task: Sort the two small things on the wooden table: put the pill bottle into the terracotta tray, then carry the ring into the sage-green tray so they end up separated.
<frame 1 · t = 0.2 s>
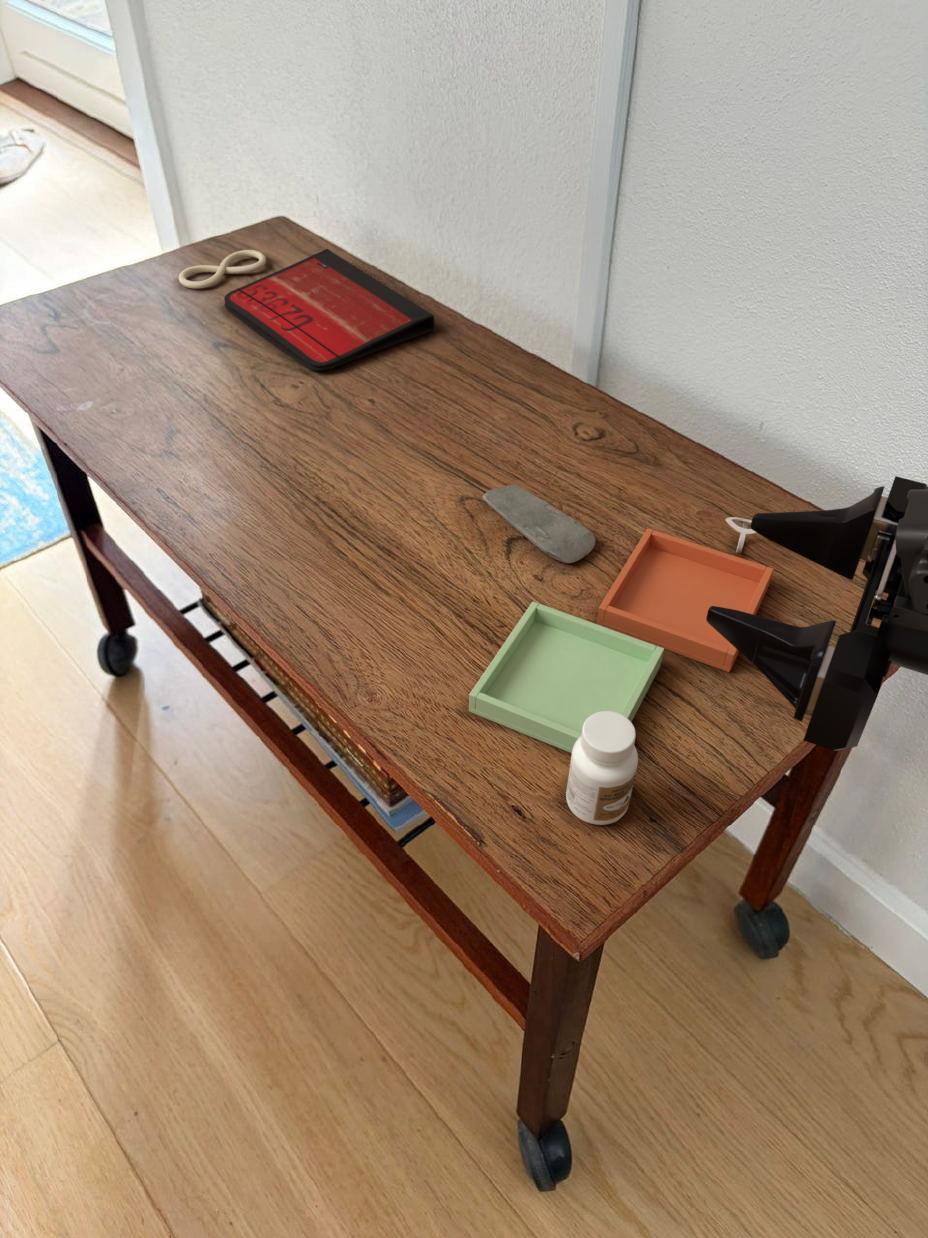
hand: (730, 564, 63), 17 cm above the table, tool horizontal, fingers open, 9 cm apart
terracotta tray: (684, 604, 85), on the table
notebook: (325, 319, 118), on the table
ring: (738, 550, 90), on the table
sage tray: (566, 688, 78), on the table
decorative object: (223, 274, 125), on the table
stone: (535, 530, 92), on the table
pill bottle: (596, 802, 71), on the table
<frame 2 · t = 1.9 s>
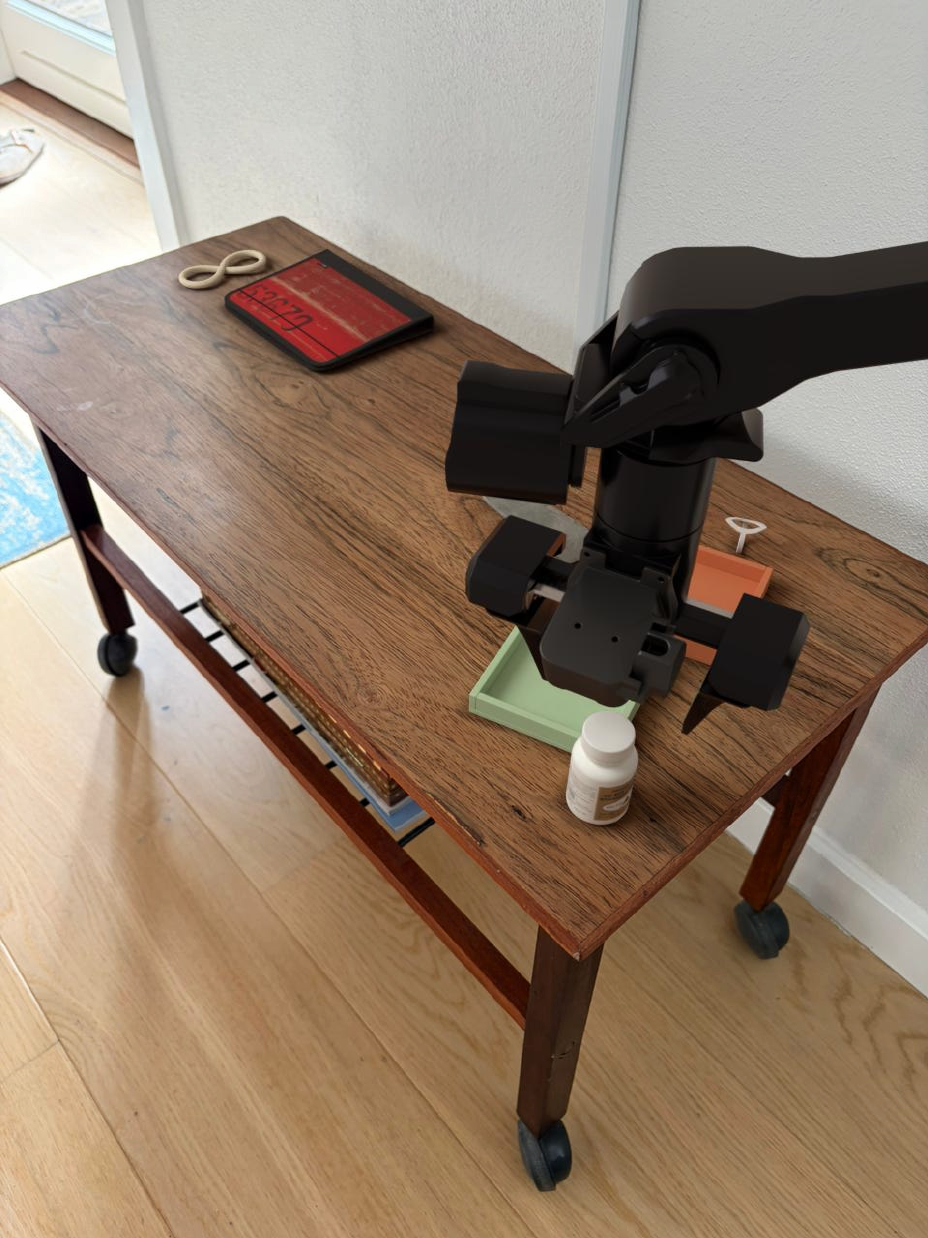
hand: (615, 702, 63), 11 cm above the table, tool pointing down, fingers open, 9 cm apart
nothing on the table moved.
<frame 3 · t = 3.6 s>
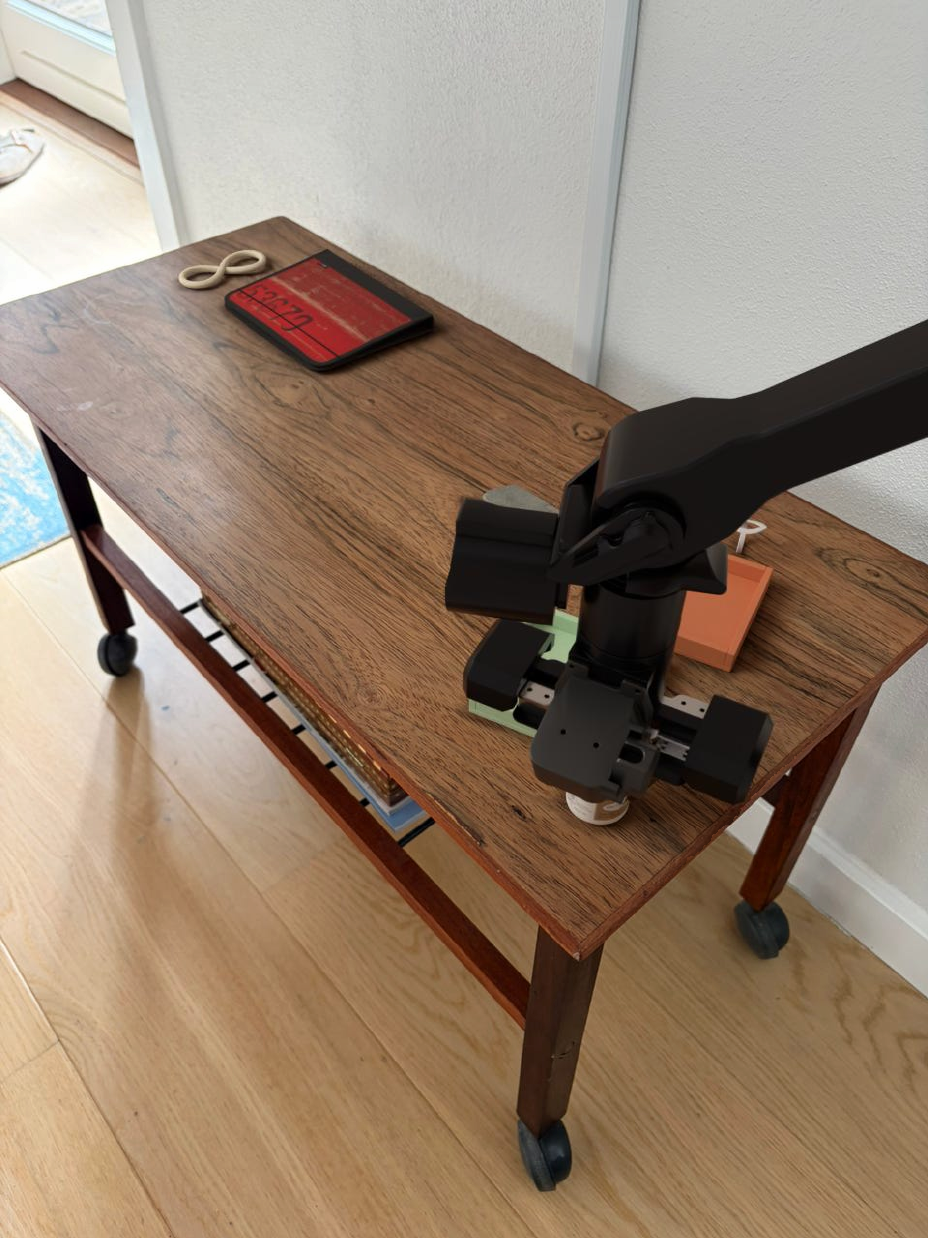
hand: (600, 783, 70), 2 cm above the table, tool pointing down, fingers closed on pill bottle, 4 cm apart
pill bottle: (597, 802, 71), on the table, touching gripper
everything else where it was.
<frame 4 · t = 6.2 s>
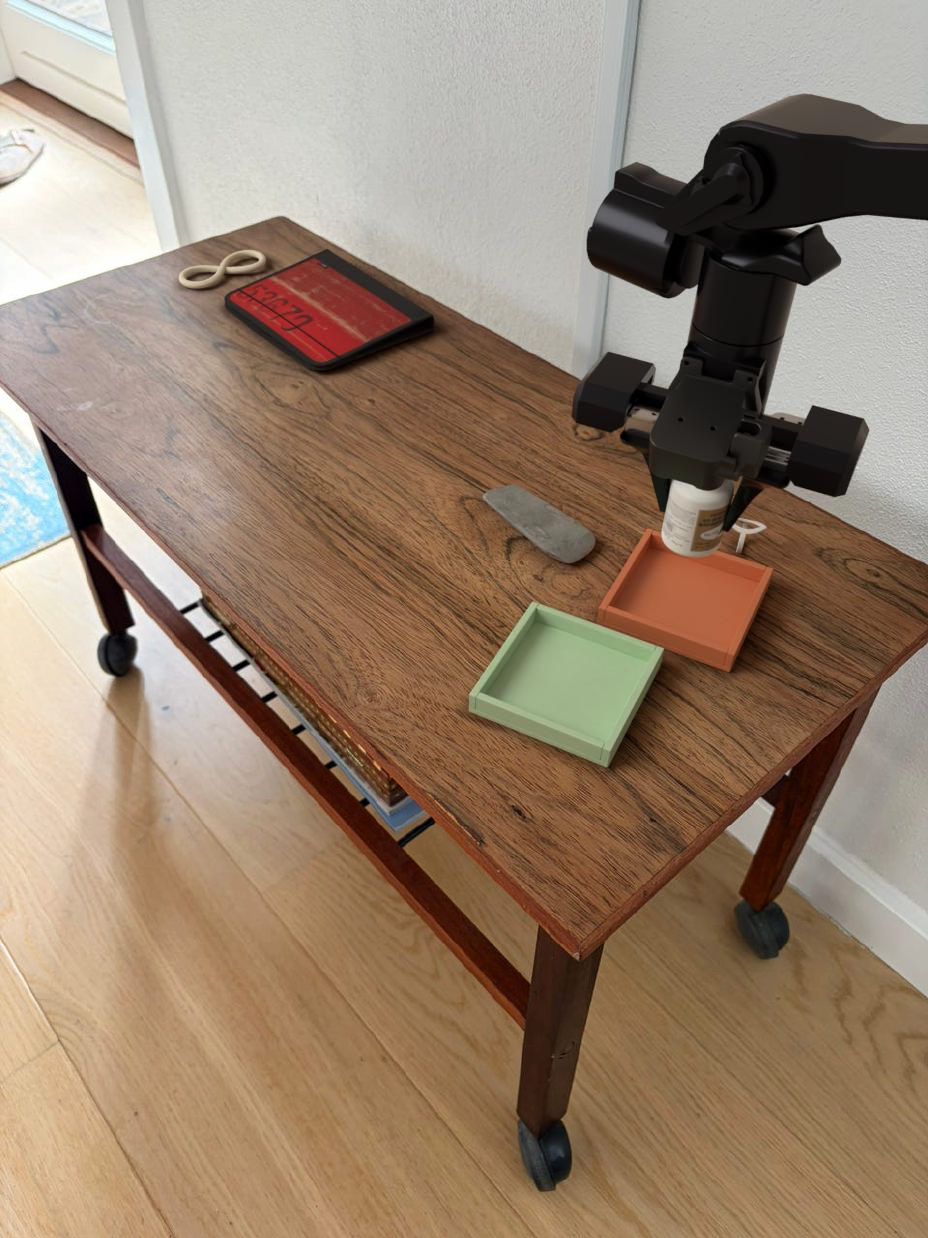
hand: (695, 518, 74), 12 cm above the table, tool pointing down, fingers closed on pill bottle, 4 cm apart
pill bottle: (690, 542, 76), point 10 cm above the table, touching gripper
everything else where it was.
when the fingers open (2 cm above the table, at t = 9.1 s): pill bottle stays where it is, resting on terracotta tray.
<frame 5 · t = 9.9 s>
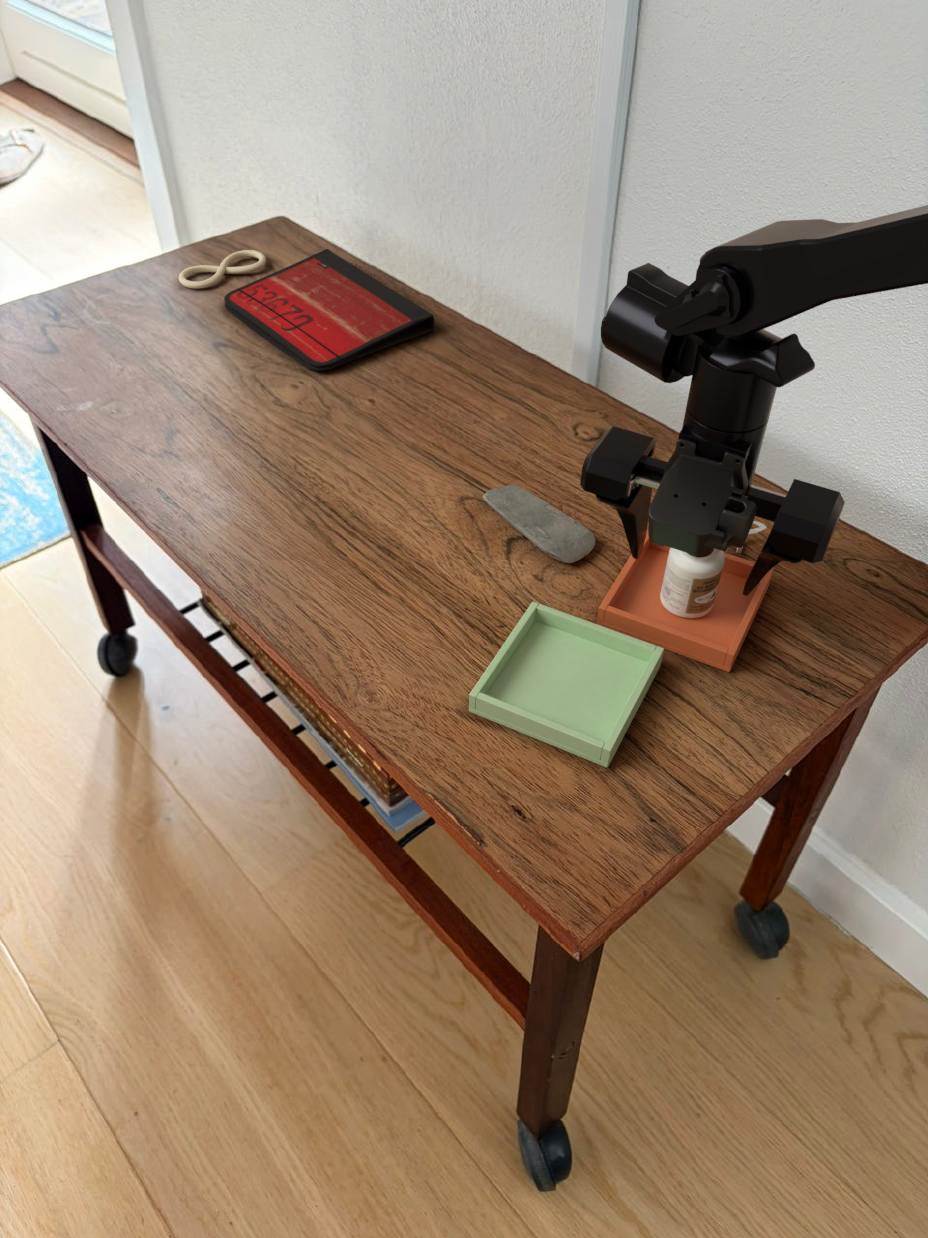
hand: (690, 573, 82), 3 cm above the table, tool pointing down, fingers open, 9 cm apart
pill bottle: (686, 603, 85), resting on terracotta tray
everything else where it was.
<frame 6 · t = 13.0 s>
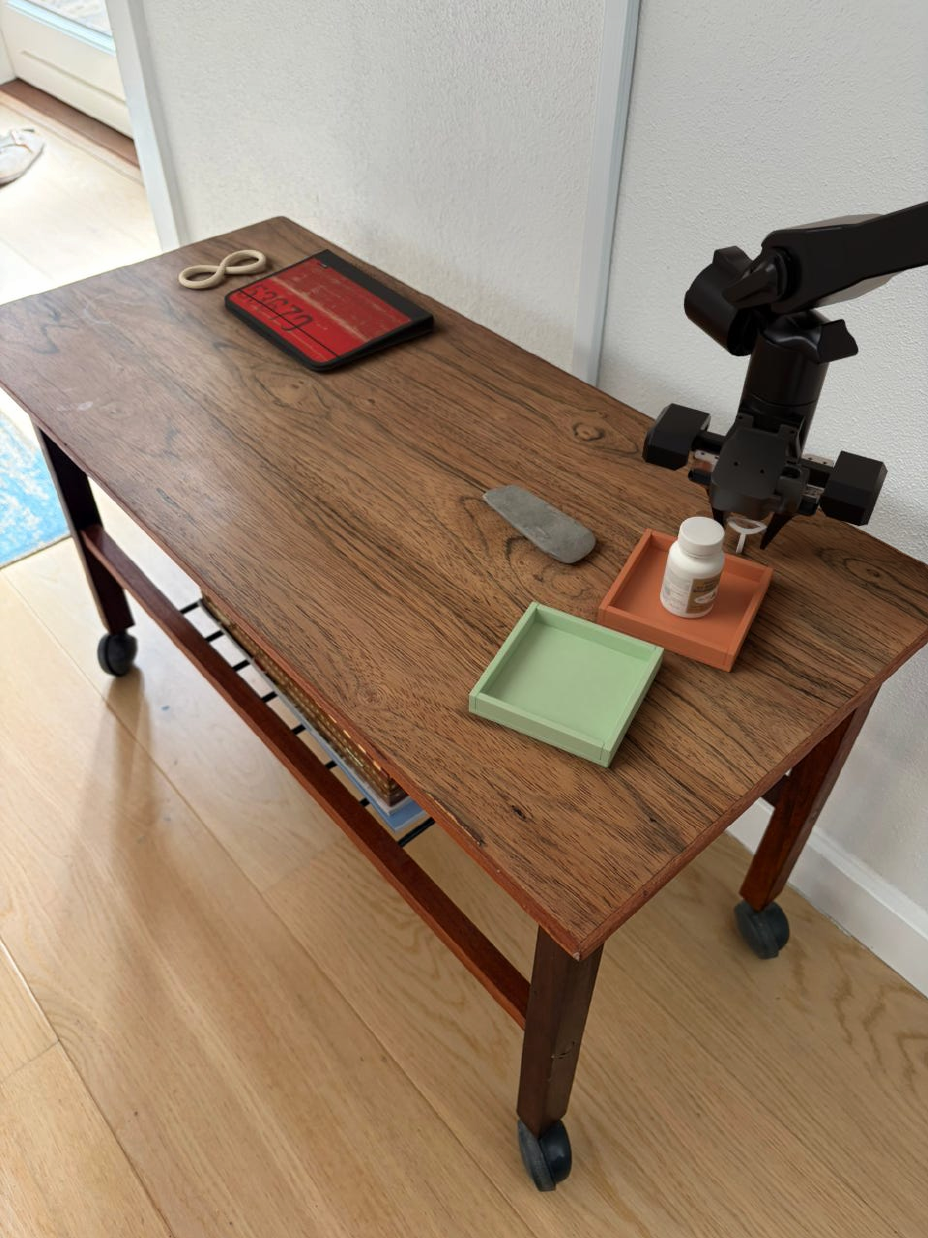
hand: (741, 540, 89), 1 cm above the table, tool pointing down, fingers closed on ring, 3 cm apart
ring: (738, 550, 90), on the table, touching gripper
everything else where it was.
when the fingers open (2 cm above the table, at t = 18.4 s): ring stays where it is, resting on sage tray.
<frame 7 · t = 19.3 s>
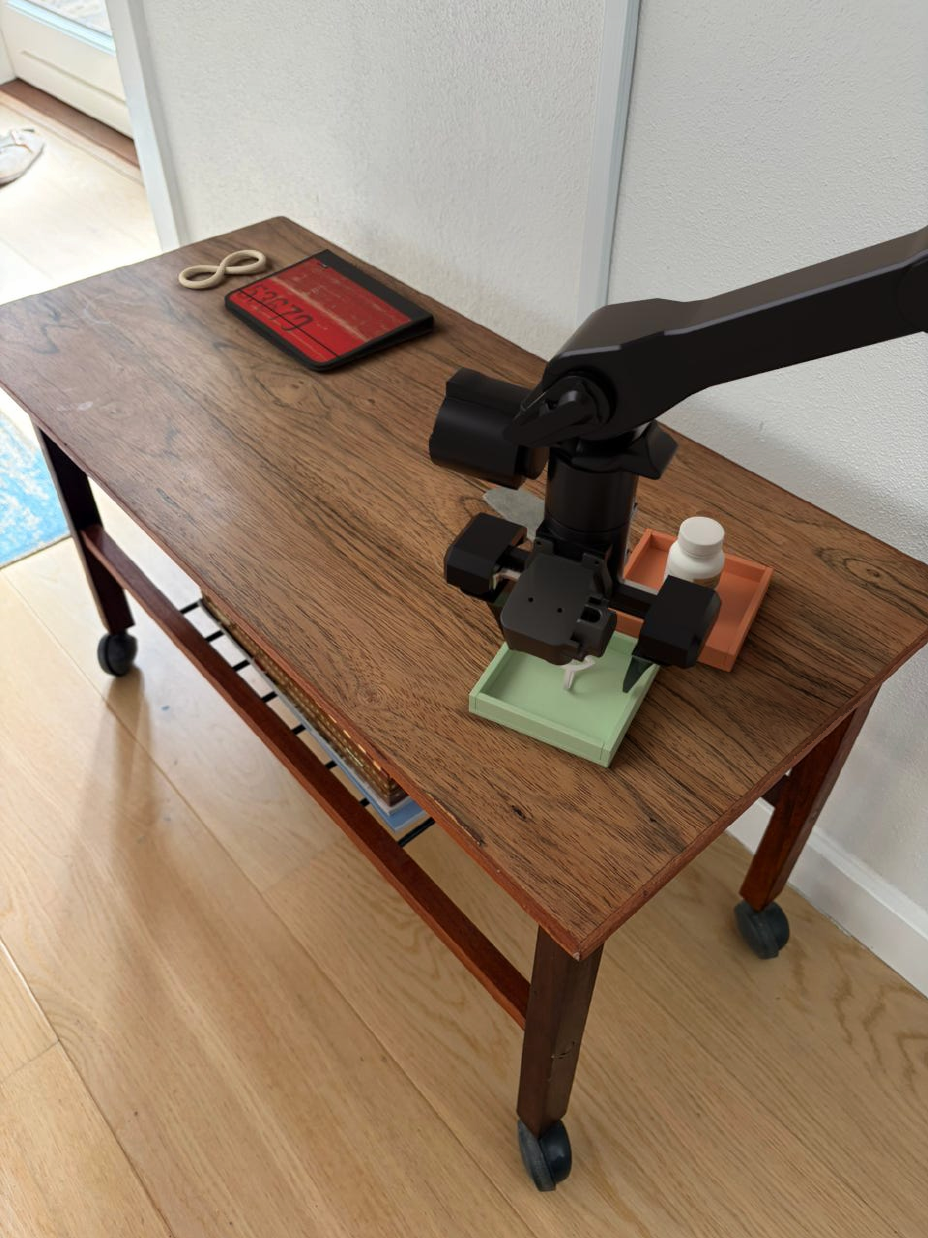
hand: (569, 667, 77), 2 cm above the table, tool pointing down, fingers open, 9 cm apart
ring: (568, 685, 78), resting on sage tray
everything else where it was.
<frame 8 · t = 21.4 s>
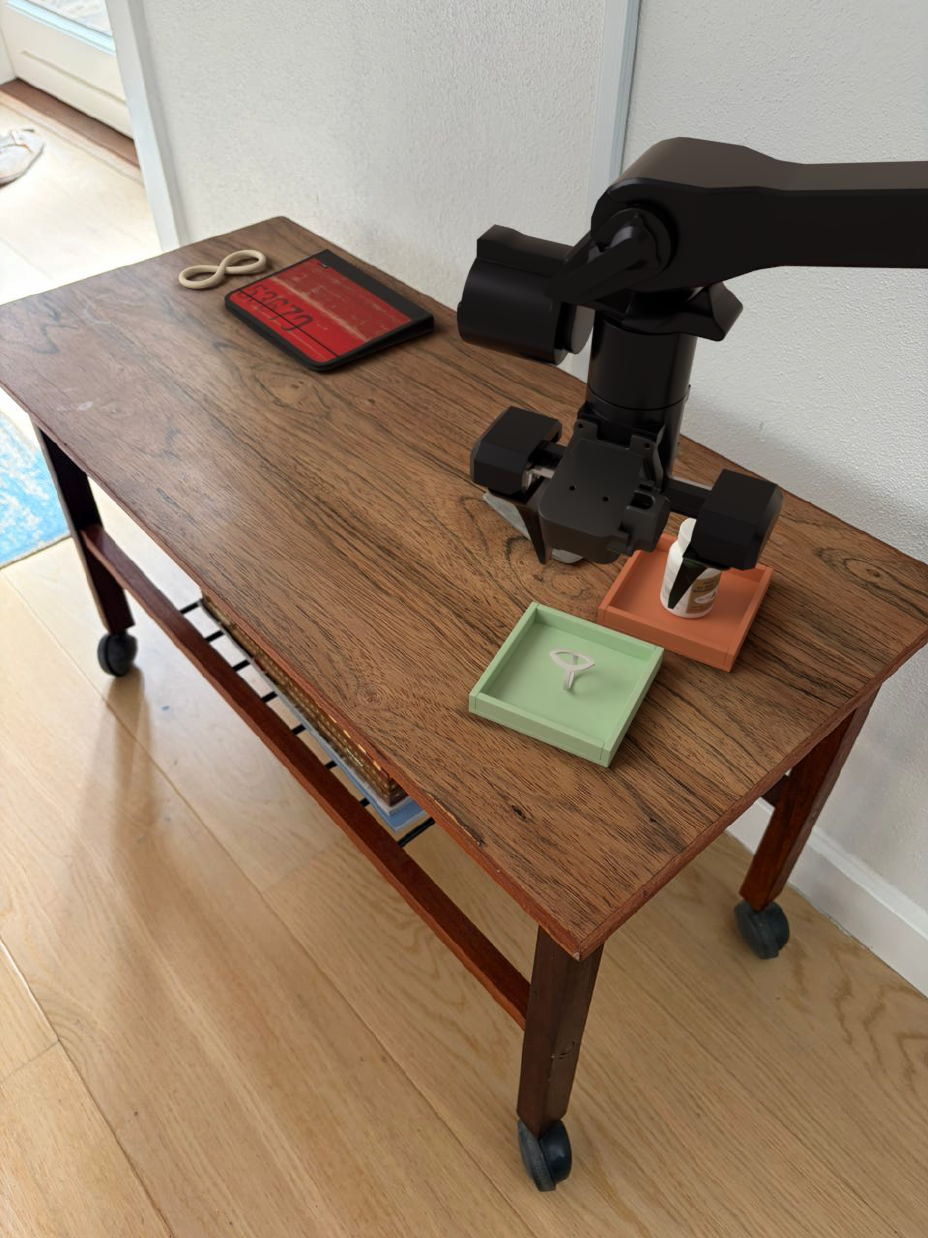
hand: (607, 582, 69), 12 cm above the table, tool pointing down, fingers open, 9 cm apart
nothing on the table moved.
at the end: pill bottle inside the target area in the terracotta tray (0.1 cm from its centre), point 0.3 cm above the terracotta tray's base; pill bottle tilted 0°; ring inside the target area in the sage tray (0.1 cm from its centre), point 0.3 cm above the sage tray's base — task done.
